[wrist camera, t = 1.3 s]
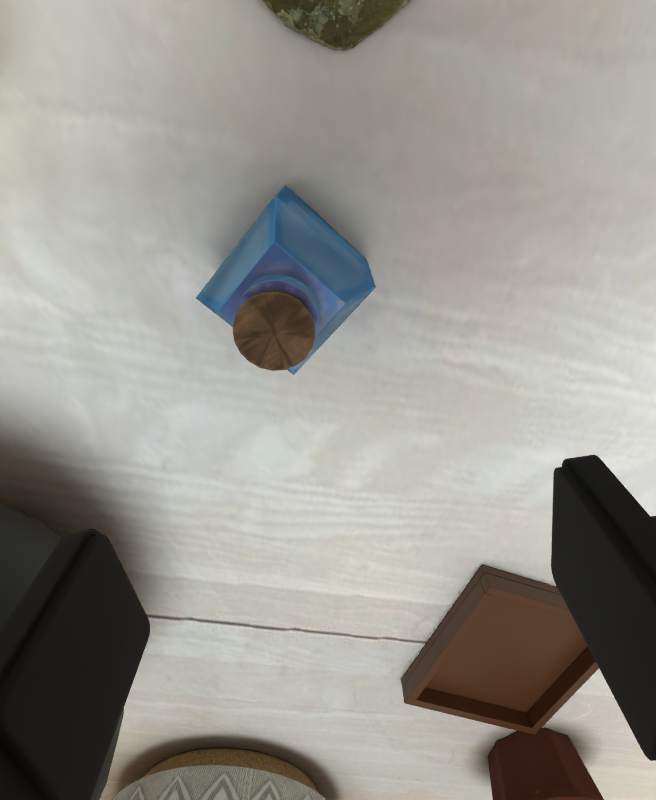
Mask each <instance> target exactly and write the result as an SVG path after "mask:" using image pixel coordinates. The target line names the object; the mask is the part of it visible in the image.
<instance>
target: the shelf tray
mask: <svg viewBox="0 0 656 800" xmlns="http://www.w3.org/2000/svg"><path fill="white" fill-rule="evenodd" d="M598 669H599V666H598V664H597V663H596V661H595V659H594V657H593V655H592V653H591V651H590V649H589V647H588V645H587V643H586V641H585V640H584V638H583V636H582V634H581V632H580V630H579V628H578V626H577V624H576V622H575V620H574V618H573V616H572V615H571V613H570V611H569V609H568V607H567V605H566V603H565V601H564V599H563V597H562V595H561V593H560V591H559V590H558V588H557V587H554V586H550V585H547V584H544V583H540V582H537V581H534V580H530V579H527V578H524V577H520V576H517V575H514V574H510V573H507V572H504V571H500V570H497V569H494V568H490V567H487V566H484V565H481V567H480V568H479V570H478V571H477V573H476V574H475V575H474V577H473V578H472V580H471V581H470V583H469V584H468V585H467V587H466V588H465V590H464V591H463V592H462V594H461V595H460V597H459V598H458V600H457V601H456V602H455V604H454V605H453V607H452V608H451V609H450V611H449V612H448V614H447V615H446V617H445V618H444V619H443V621H442V622H441V624H440V625H439V626H438V628H437V629H436V631H435V632H434V634H433V635H432V636H431V638H430V639H429V641H428V642H427V644H426V645H425V646H424V648H423V649H422V651H421V652H420V653H419V655H418V656H417V658H416V659H415V661H414V662H413V663H412V665H411V666H410V668H409V669H408V670H407V672H406V673H405V675H404V676H403V678H402V679H401V681H402V689H403V696H404V703H406V704H410V705H414V706H418V707H422V708H427V709H431V710H435V711H439V712H443V713H447V714H451V715H455V716H460V717H464V718H468V719H472V720H476V721H480V722H484V723H488V724H493V725H497V726H501V727H505V728H509V729H513V730H517V731H521V732H526V733H530V734H534V735H535V734H536V733H537V732H538V731H539V729H540V728H541V727H542V726H543V725H544V724H545V723H546V722H547V721H548V720H549V719H550V718H551V717H552V716H553V715H554V714H555V713H556V712H557V711H558V710H559V709H560V708H561V707H562V706H563V705H564V704H565V703H566V702H567V701H568V700H569V698H570V697H571V696H572V695H573V694H574V693H575V692H576V691H577V690H578V689H579V688H580V687H581V686H582V685H583V684H584V683H585V682H586V681H587V680H588V679H589V678H590V677H591V676H592V675H593V674H594V673H595V672H596V671H597V670H598Z"/></svg>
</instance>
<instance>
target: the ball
mask: <svg viewBox="0 0 656 800" xmlns="http://www.w3.org/2000/svg"><path fill="white" fill-rule="evenodd" d="M61 538H62V537H61V536H59V535H58V534H57V533H55V532H54V531H52V530H51V529H50V528H48V527H47V526H46V525H44V524H43V523H41V522H39V521H37V520H35V519H33V518H32V517H30V516H28V515H26V514H24V513H22V512H21V511H19V510H16V509H14V508H11V507H8V506H6V505H3V504H1V503H0V629H1V628H2V626H3V625H4V623H5V622H6V620H7V619H8V617H9V616H10V614H11V613H12V611H13V610H14V608H15V607H16V605H17V604H18V602H19V601H20V599H21V598H22V596H23V595H24V593H25V592H26V590H27V589H28V587H29V586H30V584H31V583H32V581H33V580H34V578H35V577H36V575H37V574H38V572H39V571H40V569H41V568H42V566H43V565H44V563H45V562H46V560H47V559H48V557H49V556H50V554H51V553H52V551H53V550H54V548H55V547H56V546H57V544H58V543H59V541H60V540H61ZM123 714H124V708H123V711H122V713H121V716H120V719H119V722H118V725H117V727H116V730H115V733H114V736H113V739H112V741H111V744H110V747H109V750H108V752H107V755H106V758H105V761H104V764H103V766H102V769H101V772H100V775H99V778H98V780H97V783H96V786H95V789H94V792H93V794H92V797H91V800H99V799H100V797H101V794H102V792H103V790H104V788H105V785H106V783H107V779H108V775H109V771H110V767H111V763H112V759H113V755H114V751H115V748H116V744H117V740H118V736H119V731H120V727H121V723H122V718H123Z"/></svg>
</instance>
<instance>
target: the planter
mask: <svg viewBox="0 0 656 800" xmlns="http://www.w3.org/2000/svg"><path fill="white" fill-rule="evenodd" d="M112 800H327V799H326V798H325V797H323V796H322V795H321V794H319V793H318V791H317V788H316V787H315V785H314V784H313V782H312V780H311V779H310V778H309V777H308V776H307V775H306V774H304V773H303V772H302V771H300V770H299V769H298V768H296V767H295V766H293V765H291V764H289V763H287V762H285V761H283V760H281V759H278V758H275V757H273V756H270V755H266V754H262V753H258V752H253V751H247V750H241V749H227V748H223V749H204V750H196V751H191V752H186V753H182V754H179V755H176V756H173V757H170V758H168V759H166V760H164V761H162V762H160V763H158V764H157V765H156V766H154V767H153V768H151V769H150V770H149V771H148V772H147V773H146V774H145V775H144V777H143V778H141V779H139V780H137V781H135V782H133V783H131V784H130V785H128V786H127V787H125V788H124V789H122V790H121V791H120V792H119V793H118V794H117V795H116V796H115V797H114V798H113V799H112Z"/></svg>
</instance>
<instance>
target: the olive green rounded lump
mask: <svg viewBox="0 0 656 800" xmlns="http://www.w3.org/2000/svg"><path fill="white" fill-rule="evenodd" d="M263 1H264V3H265V4H266V5H267V7H268V8H269V9H270V10H271V11H273V12H274V13H275V14H276V16H277V17H278V18H280V19H281V20H282V22H283V23H284V24H285V26H287V27H290V28H292V29H293V30H295V31H297V32H299V33H301V34H303V35H305V36H307V37H308V38H310V39H312V40H314V41H317V42H319V43H321V44H323V45H325V46H327V47H329V48H332V49H342V50H347V49H350V48H353V47H355V46H356V44H357V43H358V42H359V41H361V40H362V39H364V38H365V37H366V36H368V35H370V34H371V33H372V32H373V31H375V30H376V29H378V28H379V27H381V26H382V25H383V24H384V23H385V22H386V21H387V20H388V19H390V18H391V17H392V16H393V15H394V14H395V13H396V12H397V11H398V10H399V9H401V8H402V7H403V6H404V5H405V4H406V3H407V2H408V1H410V0H263Z"/></svg>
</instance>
